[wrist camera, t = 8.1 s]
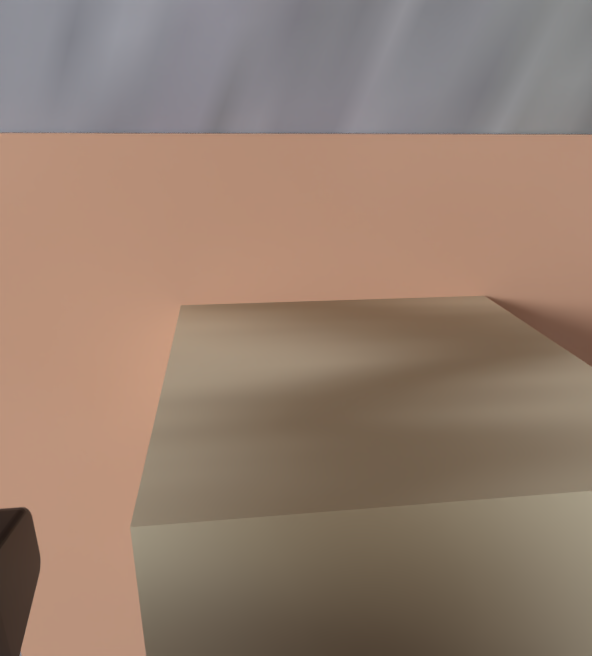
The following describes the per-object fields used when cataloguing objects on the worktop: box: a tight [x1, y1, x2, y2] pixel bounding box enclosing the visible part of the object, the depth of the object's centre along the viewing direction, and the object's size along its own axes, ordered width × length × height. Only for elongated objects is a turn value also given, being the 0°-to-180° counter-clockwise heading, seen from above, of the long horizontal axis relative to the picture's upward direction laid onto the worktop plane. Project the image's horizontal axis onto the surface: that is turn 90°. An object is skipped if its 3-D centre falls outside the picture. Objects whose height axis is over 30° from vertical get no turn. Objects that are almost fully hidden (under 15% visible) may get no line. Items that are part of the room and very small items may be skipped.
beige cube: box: [130, 296, 592, 656], centre depth 7 cm, size 5×5×5 cm
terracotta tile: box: [0, 132, 592, 656], centre depth 10 cm, size 12×10×1 cm
